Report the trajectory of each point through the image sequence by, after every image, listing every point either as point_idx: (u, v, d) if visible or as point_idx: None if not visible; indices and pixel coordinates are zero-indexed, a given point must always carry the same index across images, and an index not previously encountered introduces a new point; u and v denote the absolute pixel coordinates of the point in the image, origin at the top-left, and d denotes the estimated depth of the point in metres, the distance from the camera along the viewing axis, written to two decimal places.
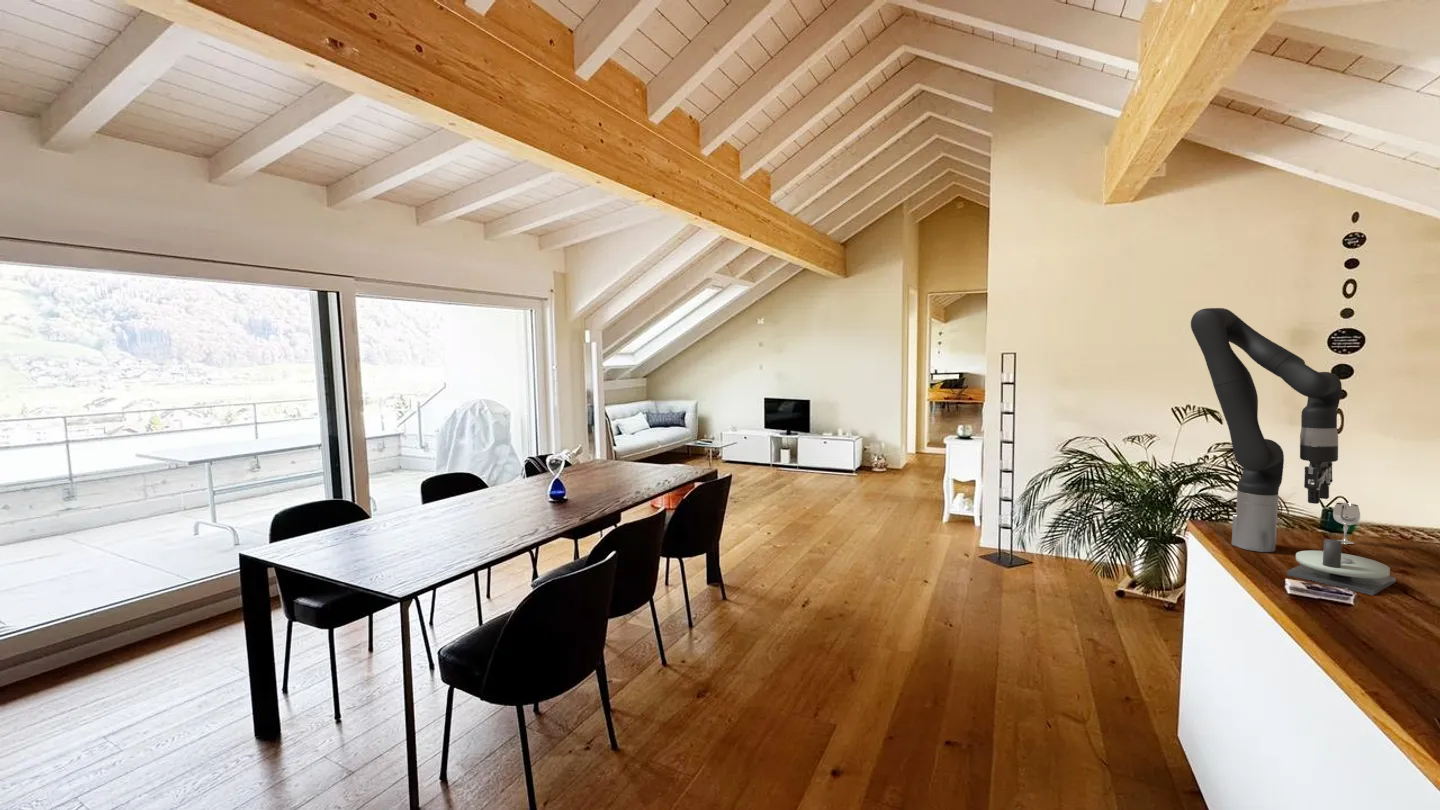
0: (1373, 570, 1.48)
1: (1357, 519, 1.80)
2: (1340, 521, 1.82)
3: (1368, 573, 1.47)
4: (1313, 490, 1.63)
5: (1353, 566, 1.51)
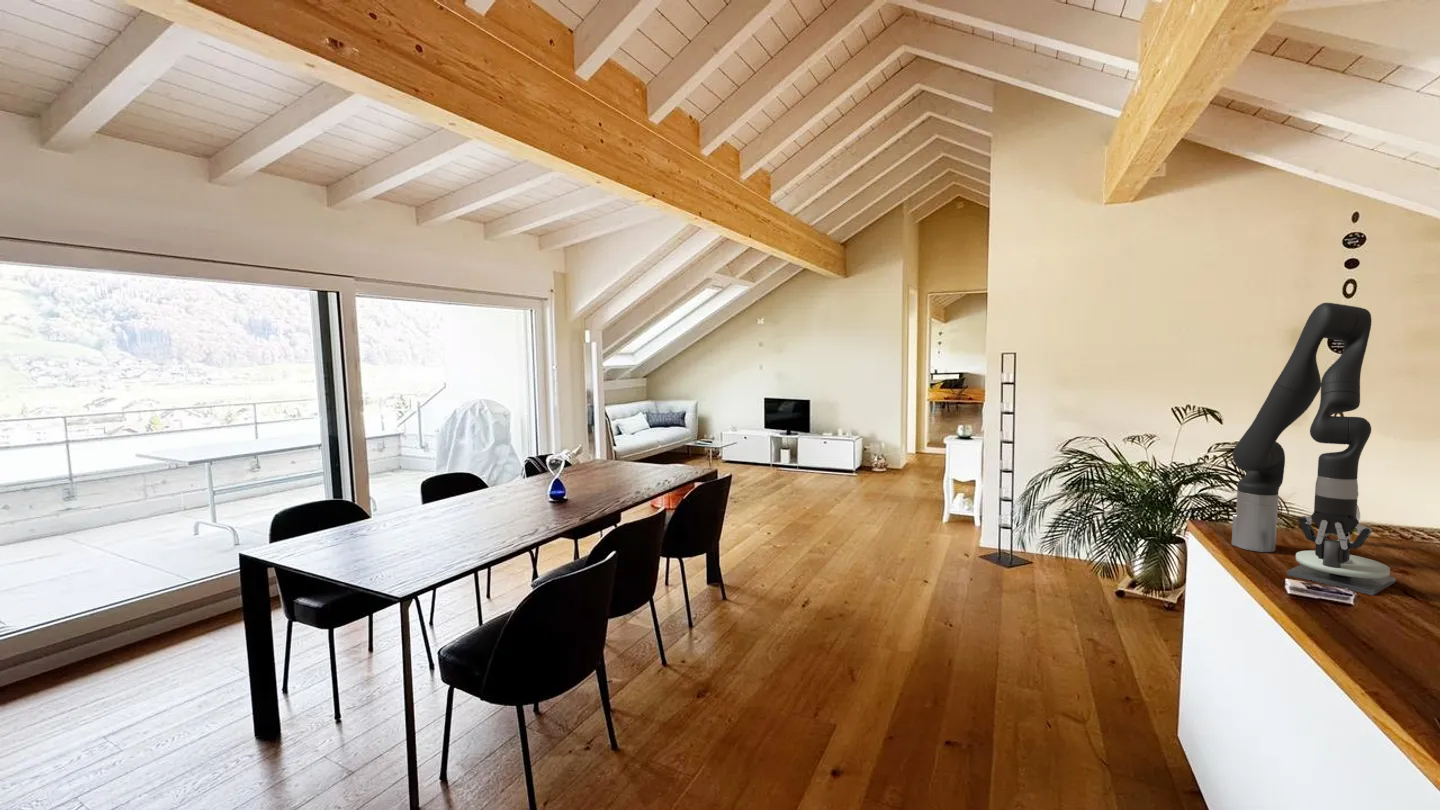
0: (1373, 570, 1.48)
1: (1357, 519, 1.80)
2: None
3: (1368, 573, 1.47)
4: None
5: (1353, 566, 1.51)
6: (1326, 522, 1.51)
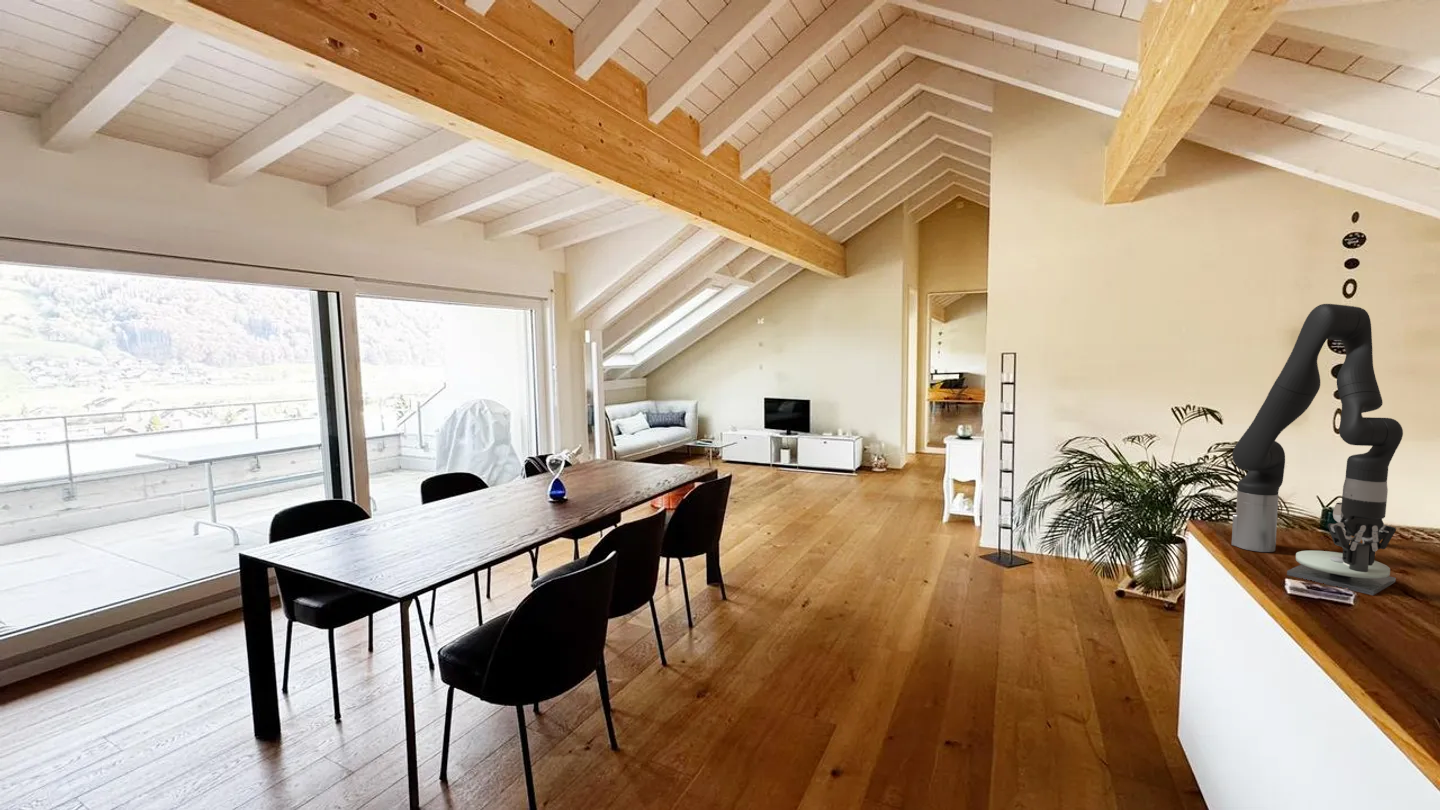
0: (1380, 566, 1.51)
1: None
2: None
3: (1388, 571, 1.48)
4: None
5: None
6: (1364, 527, 1.47)
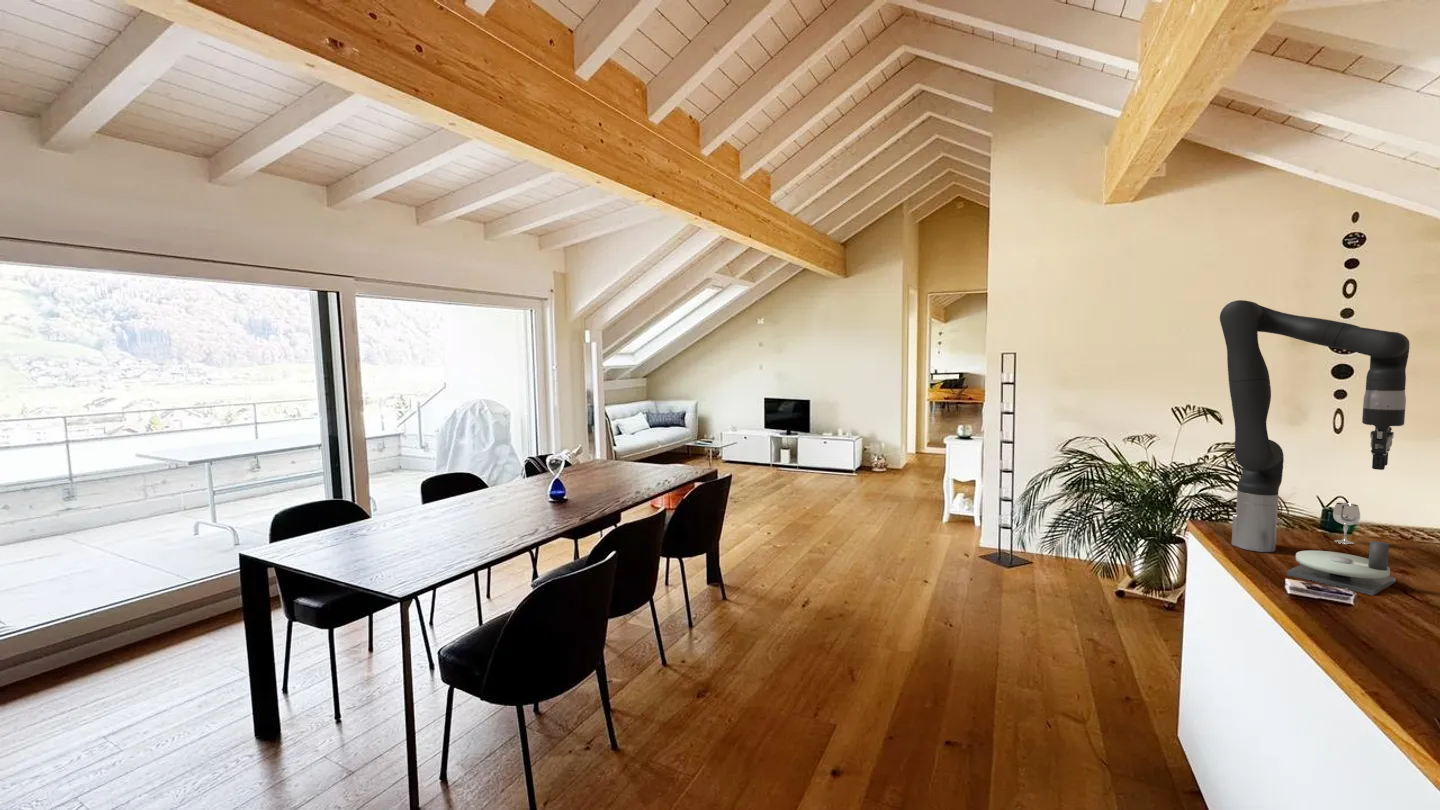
0: (1361, 558, 1.57)
1: (1357, 519, 1.80)
2: (1340, 521, 1.82)
3: None
4: None
5: (1359, 561, 1.55)
6: (1392, 435, 1.56)
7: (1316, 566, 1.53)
